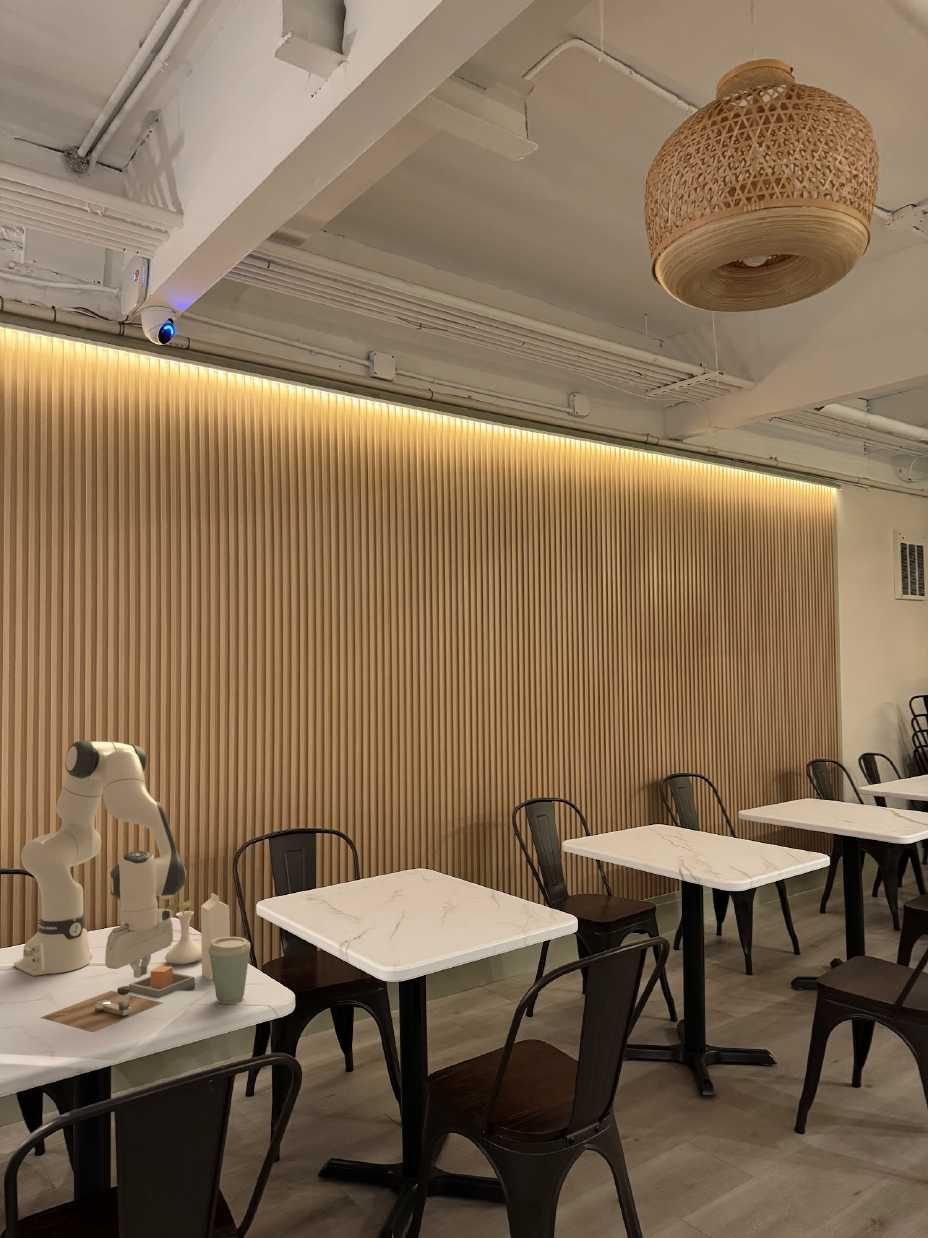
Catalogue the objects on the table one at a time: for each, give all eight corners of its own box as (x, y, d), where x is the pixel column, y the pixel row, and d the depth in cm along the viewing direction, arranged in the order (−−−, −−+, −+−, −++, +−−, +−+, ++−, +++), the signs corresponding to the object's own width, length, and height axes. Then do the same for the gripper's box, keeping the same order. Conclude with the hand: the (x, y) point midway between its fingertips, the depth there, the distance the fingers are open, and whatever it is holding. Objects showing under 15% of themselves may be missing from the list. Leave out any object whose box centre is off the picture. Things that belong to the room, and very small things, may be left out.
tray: (129, 996, 229) (129, 984, 229) (164, 982, 239) (164, 970, 239) (159, 1003, 223) (159, 991, 223) (194, 988, 233) (194, 977, 233)
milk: (209, 980, 239) (207, 898, 240) (201, 975, 244) (200, 894, 245) (231, 975, 242) (229, 894, 244) (222, 970, 247) (220, 890, 249)
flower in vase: (197, 952, 264) (196, 868, 266) (211, 961, 255) (210, 874, 257) (154, 962, 256) (153, 875, 258) (166, 972, 247) (165, 882, 249)
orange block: (150, 991, 229) (150, 971, 230) (159, 985, 233) (158, 966, 234) (164, 991, 229) (164, 972, 229) (172, 986, 232) (172, 966, 233)
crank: (91, 1010, 215) (91, 984, 215) (104, 1005, 218) (104, 980, 218) (121, 1018, 209) (121, 991, 210) (134, 1012, 212) (134, 987, 213)
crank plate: (40, 1023, 212) (40, 1017, 212) (111, 996, 229) (111, 990, 229) (93, 1039, 202) (93, 1031, 202) (163, 1009, 219) (163, 1002, 219)
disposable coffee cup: (249, 990, 230) (248, 931, 231) (254, 1003, 220) (253, 942, 221) (207, 996, 227) (206, 937, 228) (211, 1011, 217) (210, 949, 218)
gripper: (118, 931, 208) (120, 991, 207) (176, 909, 227) (178, 964, 226) (98, 930, 210) (99, 989, 209) (157, 908, 229) (158, 962, 228)
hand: (140, 976), depth 217 cm, fingers closed
